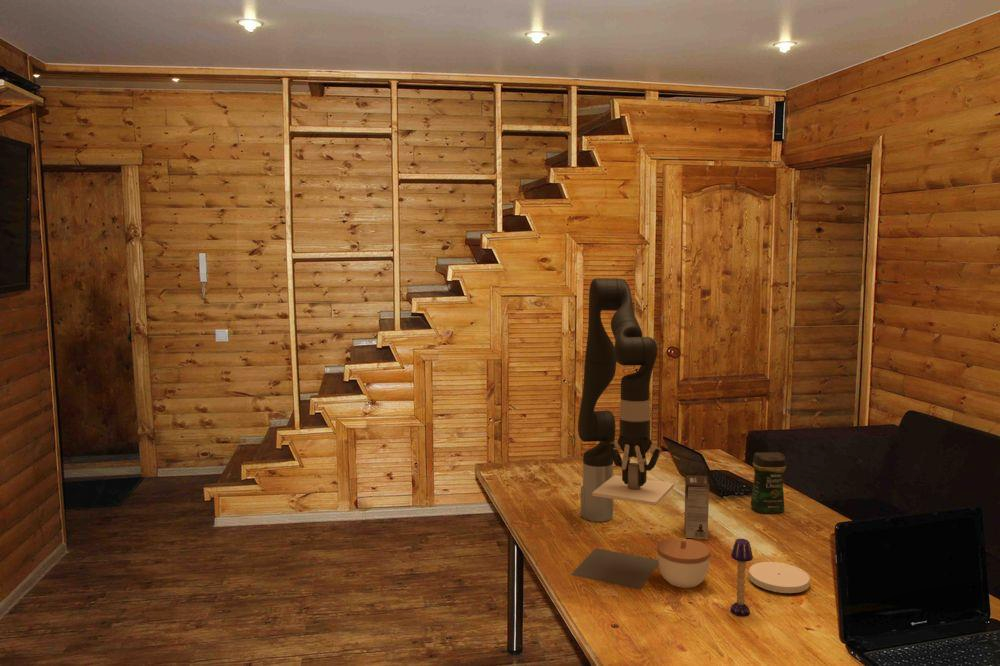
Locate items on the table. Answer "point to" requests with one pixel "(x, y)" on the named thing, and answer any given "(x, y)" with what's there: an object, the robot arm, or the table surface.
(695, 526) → the coffee box
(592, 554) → the rubber mat
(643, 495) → the cover board
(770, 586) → the plastic lid
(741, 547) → the toy lamp
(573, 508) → the table surface
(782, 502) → the coffee jar
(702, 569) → the lidded bowl
